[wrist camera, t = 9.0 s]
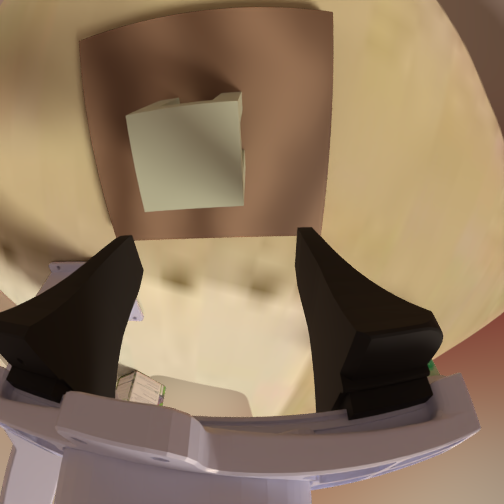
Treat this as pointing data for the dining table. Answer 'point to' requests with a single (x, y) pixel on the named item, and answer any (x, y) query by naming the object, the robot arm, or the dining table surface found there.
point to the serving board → (207, 88)
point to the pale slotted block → (189, 153)
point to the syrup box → (140, 389)
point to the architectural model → (5, 302)
